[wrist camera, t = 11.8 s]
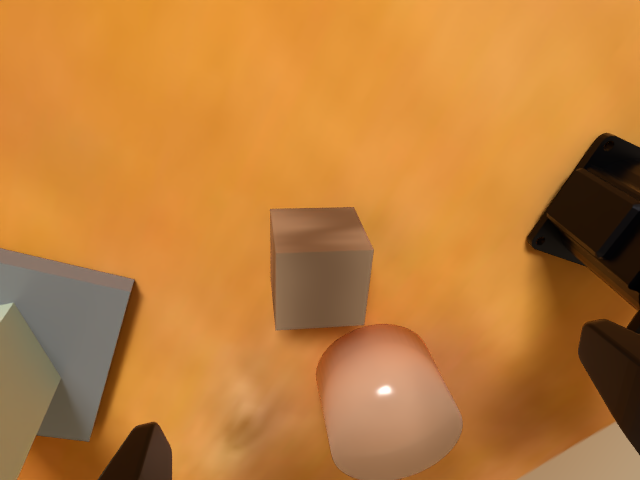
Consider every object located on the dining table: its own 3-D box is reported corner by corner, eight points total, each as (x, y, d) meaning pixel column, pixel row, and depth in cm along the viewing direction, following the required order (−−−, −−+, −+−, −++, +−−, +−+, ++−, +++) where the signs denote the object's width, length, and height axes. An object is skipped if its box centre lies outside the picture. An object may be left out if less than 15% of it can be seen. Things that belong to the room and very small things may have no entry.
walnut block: (353, 206, 22) (373, 249, 19) (346, 274, 24) (364, 325, 21) (270, 208, 22) (275, 253, 18) (270, 277, 24) (275, 330, 20)
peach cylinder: (446, 331, 28) (485, 397, 23) (403, 411, 31) (430, 483, 26) (336, 317, 26) (356, 386, 21) (302, 404, 29) (314, 480, 24)
